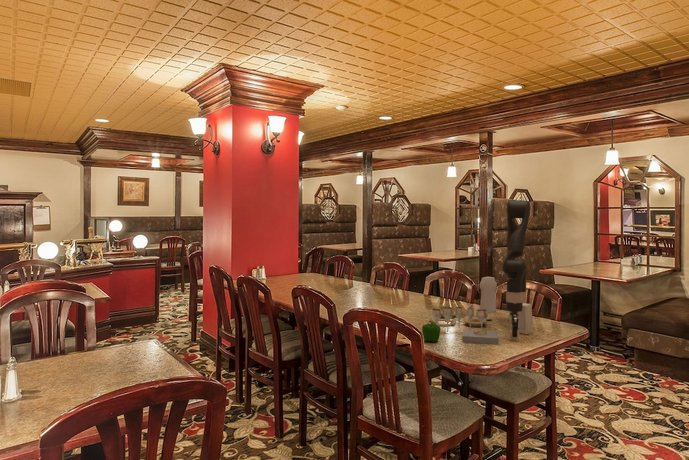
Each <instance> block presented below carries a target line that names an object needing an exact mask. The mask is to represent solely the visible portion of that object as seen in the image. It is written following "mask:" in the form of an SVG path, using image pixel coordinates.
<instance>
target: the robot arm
mask: <svg viewBox="0 0 689 460" xmlns="http://www.w3.org/2000/svg"><path fill="white" fill-rule="evenodd" d="M530 215H531V204H530V201H528V200H519V199H518V200H517V199H516V200H514V199H511V200H509V201H508V202H507V204H506V219H507V221H506V223H507V233H506V252H507V253H506V256H505V259H504V261H503V264H502V271H503V273H504V274H506V277H507V278H508V279H507V280H506V294H505V295H506V296H505V310H506V311H507V312H508V321H509V322H510V318H511V324H512V336H513V337H517V330H518V324H519V315H518V314H517V312H520V311H522V310H523V303H526V304H527V270H528V269H527V268H528V267H527V264H526V262H525V261H524V259H517V258H520V257H522V256H524V251H525V248H526V233H527V229H528V225H529V220H530ZM515 219H521V222H520V224H519V225H518V224H517V222H516V220H515ZM512 321H513V322H512ZM514 325H516V327H515V326H514Z"/></svg>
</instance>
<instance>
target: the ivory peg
mask: <svg viewBox="0 0 689 460" xmlns="http://www.w3.org/2000/svg"><path fill="white" fill-rule="evenodd" d="M512 322H513V321H512ZM514 326H515V327H516V325H514ZM509 339H510V341H520V333H519V324H518V330H517V337H513V336H512V324H511V318H510V321H509Z"/></svg>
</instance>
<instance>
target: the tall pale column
mask: <svg viewBox="0 0 689 460" xmlns="http://www.w3.org/2000/svg"><path fill="white" fill-rule="evenodd" d="M497 283H498V282H496V280H495V277H492V276H484V277H481V280H480V282H479V289H480V300H479V301H480V308H479V309H484V310H486V311H487V314H489V313H497V299H496V292H497V285H498V284H497Z"/></svg>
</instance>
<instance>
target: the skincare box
mask: <svg viewBox="0 0 689 460" xmlns="http://www.w3.org/2000/svg"><path fill="white" fill-rule="evenodd" d="M532 311H533V310H532V303H527V302H526V303H523V310H522V311H520V312H517V314H518V315H519V334H522V335H528V334H533V332H534V331H533V329H534V327H533V312H532Z"/></svg>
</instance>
